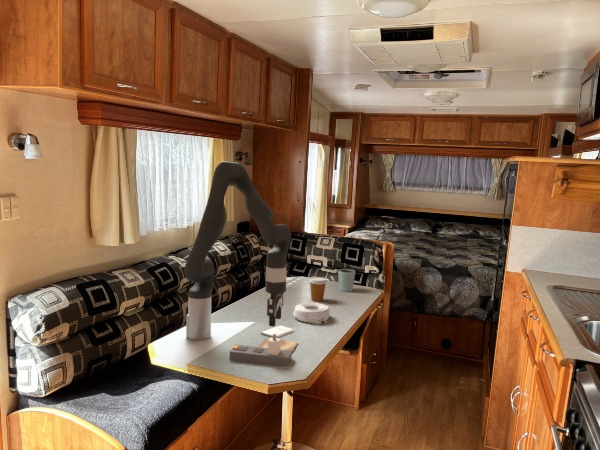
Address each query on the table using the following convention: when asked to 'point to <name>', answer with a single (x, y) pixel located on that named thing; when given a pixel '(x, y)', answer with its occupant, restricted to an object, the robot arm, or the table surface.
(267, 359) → the power strip
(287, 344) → the cork mat
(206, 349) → the table surface
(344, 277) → the pale teal cup
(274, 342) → the charger
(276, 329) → the external hard drive
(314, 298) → the disposable coffee cup
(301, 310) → the cable
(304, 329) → the table surface
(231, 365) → the table surface
